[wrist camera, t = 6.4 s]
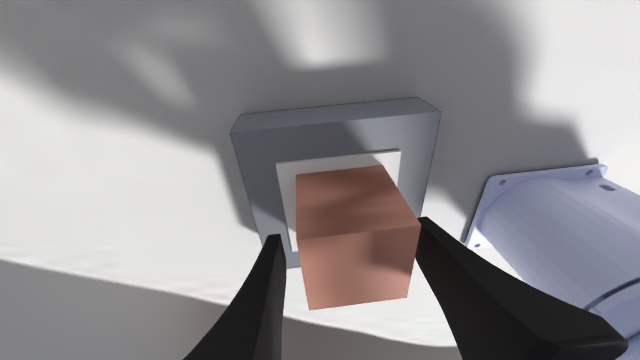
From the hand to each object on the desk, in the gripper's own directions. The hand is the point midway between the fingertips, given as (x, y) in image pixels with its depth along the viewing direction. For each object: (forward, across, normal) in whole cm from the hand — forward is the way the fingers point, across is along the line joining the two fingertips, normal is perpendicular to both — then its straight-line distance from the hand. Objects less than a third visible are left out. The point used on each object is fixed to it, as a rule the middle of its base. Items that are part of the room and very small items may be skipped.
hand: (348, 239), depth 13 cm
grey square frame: (+6, 0, 0) cm, 6 cm away
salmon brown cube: (+3, 0, 0) cm, 3 cm away
